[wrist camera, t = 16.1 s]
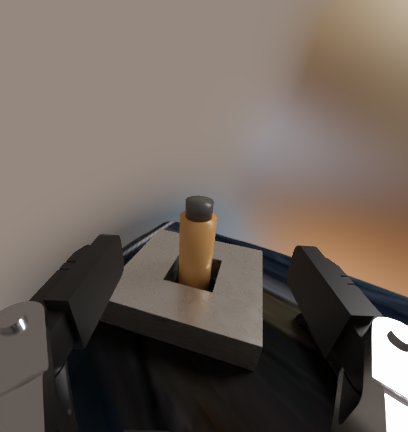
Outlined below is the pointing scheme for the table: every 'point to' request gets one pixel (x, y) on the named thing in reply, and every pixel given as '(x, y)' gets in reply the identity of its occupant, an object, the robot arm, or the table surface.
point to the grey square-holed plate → (193, 301)
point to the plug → (196, 242)
